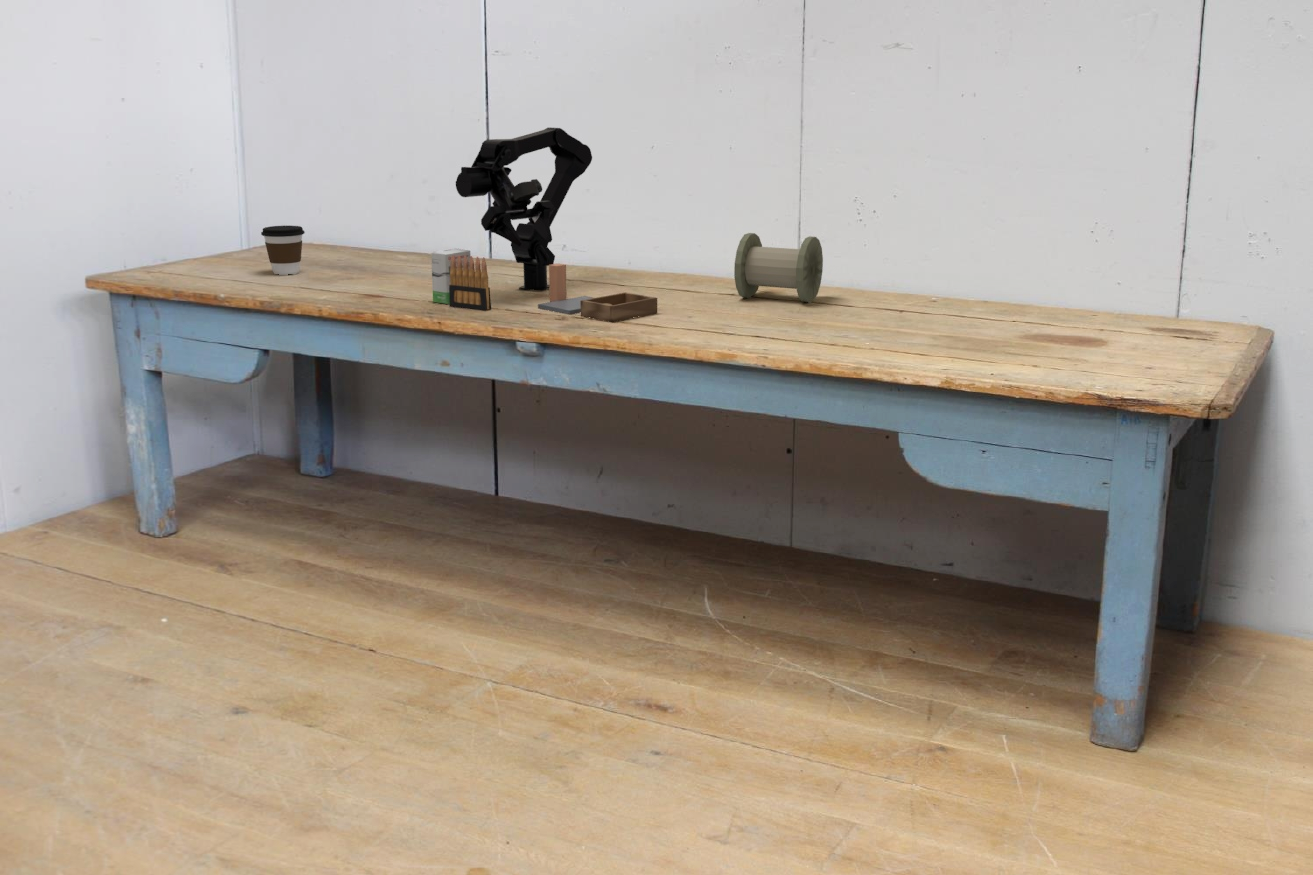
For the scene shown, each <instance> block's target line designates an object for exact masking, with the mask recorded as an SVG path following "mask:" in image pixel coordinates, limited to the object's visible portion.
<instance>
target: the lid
mask: <svg viewBox="0 0 1313 875" xmlns="http://www.w3.org/2000/svg"><path fill="white" fill-rule="evenodd" d="M548 277H549V279H548V282H549V283H548V285H549V288H548V290H549V292H548V293H549V302H542V303H538V304H537V309H539V310H542V311H543V310H544V311H548V310H549V312H553V311H554V312H555V313H558V312H559V314H564V315H568V316H569V315H576V314H580V313H579V312H581V304H580V301H581V300H586V299H592V298H595V297H593V296H587V295H582V296H576V297H569V298H567V264H563V263H554V264H552V265H549V266H548ZM575 313H576V314H575Z"/></svg>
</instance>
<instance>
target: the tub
mask: <svg viewBox="0 0 1313 875" xmlns="http://www.w3.org/2000/svg"><path fill="white" fill-rule="evenodd" d="M580 304H581V313H580V317H582V316H585V317H584V318H587V317H590V318H589V319H592V318H594V319H593V320H598V319H599V320H598V321H603V320H604V322H608V321H609V322H610V323H616V321H617V322H621V321H620V320H622V321H625V320H624V319H627V320H630V319H629V318H632V319H634V318H633V317H637V318H639V317H638V316H642V317H645V316H646V315H647V316H651V314H652V315H656V313H657V314H658V297H654V296H650V295H649V296H648V295H644V294H643V295H642V294H636V293H632V292H631V293H630V292H620V293H614V294H609V295H604V296H603V295H602V296H599V297H594V298H592V299H586V300H581V301H580ZM609 322H608V323H609Z"/></svg>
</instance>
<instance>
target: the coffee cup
mask: <svg viewBox="0 0 1313 875" xmlns="http://www.w3.org/2000/svg"><path fill="white" fill-rule="evenodd" d="M305 233H306V232H305V230H304V229H303V227H302V226H301V225H272V226H267V227H263V228H262V231H261V236H263V237H264V243H265V248H266V252H267V256H268V260H269V263H270V265H271V269H272V272H273V273H274V275H275V274H279V275H278V276H289V275H288V274H294V275H298V274H299V272H300V268H301V265H300V264H301V261H302V250H303V248H302V247H303V235H304V234H305Z"/></svg>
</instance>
